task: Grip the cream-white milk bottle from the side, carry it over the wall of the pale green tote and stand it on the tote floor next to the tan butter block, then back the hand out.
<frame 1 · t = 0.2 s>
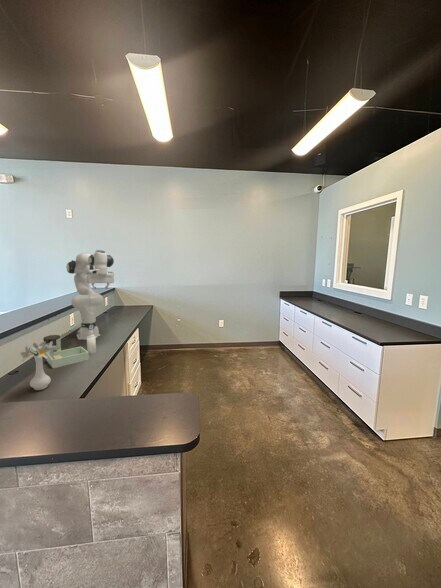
hand: (100, 288, 197), 47 cm above the counter, tool pointing down, fingers open, 8 cm apart
flower vase: (40, 387, 137), on the counter
butter block: (58, 362, 168), point 1 cm above the counter, touching tote
tote: (68, 361, 172), on the counter
milk bottle: (91, 351, 191), on the counter
coffee can: (53, 355, 181), on the counter
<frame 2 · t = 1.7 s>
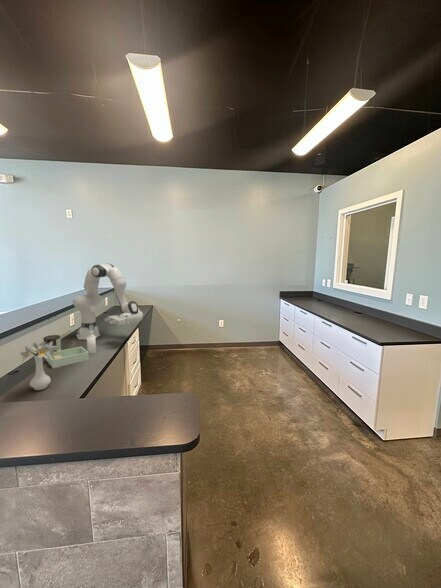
hand: (106, 321, 196), 22 cm above the counter, tool horizontal, fingers open, 8 cm apart
nothing on the counter moved.
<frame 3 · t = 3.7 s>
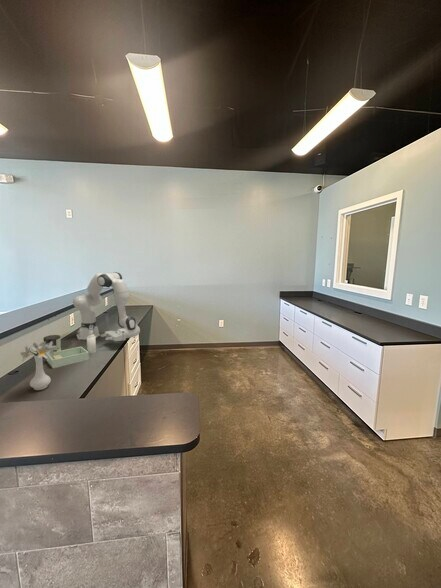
hand: (103, 337, 196), 9 cm above the counter, tool horizontal, fingers open, 8 cm apart
nothing on the counter moved.
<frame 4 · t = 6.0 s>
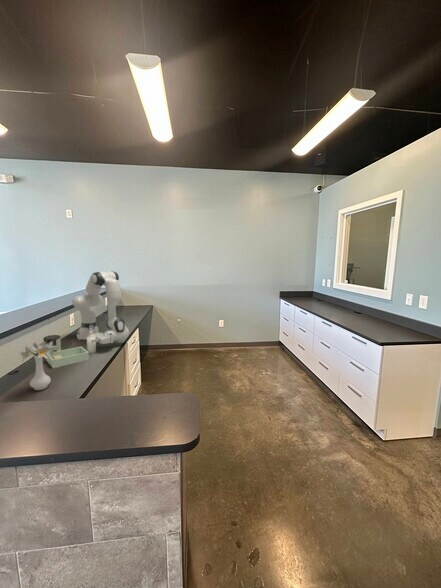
hand: (89, 340, 189), 10 cm above the counter, tool horizontal, fingers closed on milk bottle, 6 cm apart
milk bottle: (91, 351, 191), on the counter, touching gripper
everything else where it was.
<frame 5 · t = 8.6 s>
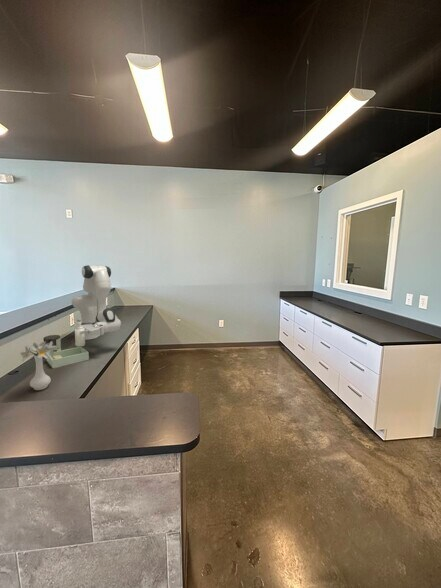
hand: (78, 331, 175), 20 cm above the counter, tool horizontal, fingers closed on milk bottle, 6 cm apart
milk bottle: (80, 344, 177), point 10 cm above the counter, touching gripper
everything else where it was.
when the fingers open (11 cm above the counter, at t = 11.2 s): milk bottle stays where it is, resting on tote.
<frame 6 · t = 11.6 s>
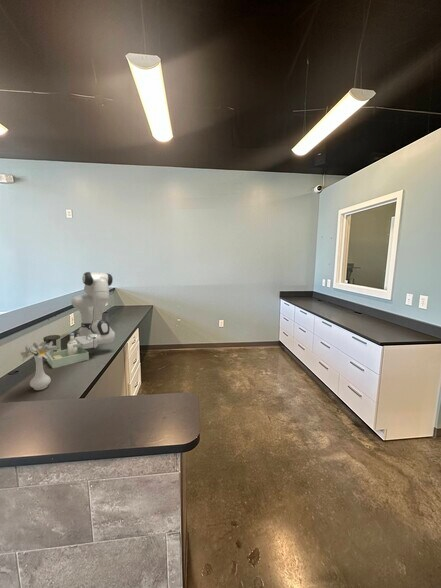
hand: (70, 344, 172), 12 cm above the counter, tool horizontal, fingers open, 8 cm apart
milk bottle: (73, 359, 174), point 1 cm above the counter, touching tote
everything else where it was.
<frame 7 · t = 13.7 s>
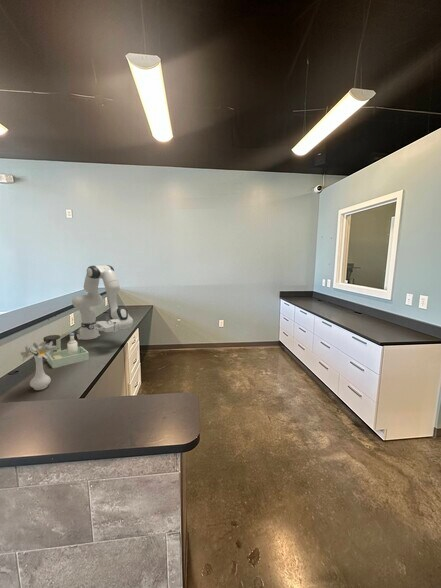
hand: (93, 327, 185), 20 cm above the counter, tool horizontal, fingers open, 8 cm apart
nothing on the counter moved.
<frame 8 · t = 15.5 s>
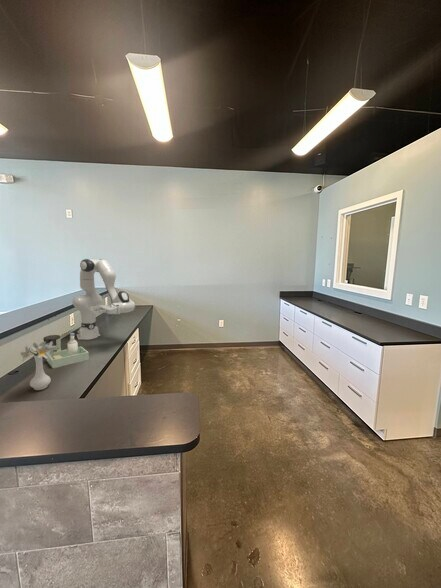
hand: (96, 310, 188), 32 cm above the counter, tool horizontal, fingers open, 8 cm apart
nothing on the counter moved.
at the end: milk bottle inside the target area on the tote (0.4 cm from its centre), point 0.6 cm above the tote's base; milk bottle tilted 1°; the gripper is holding nothing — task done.
